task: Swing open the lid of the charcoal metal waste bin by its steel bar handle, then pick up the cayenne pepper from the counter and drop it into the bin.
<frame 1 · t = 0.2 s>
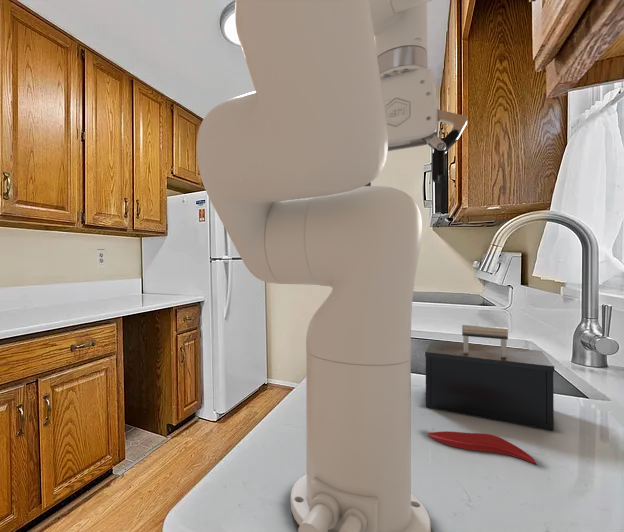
hand: (399, 185, 56), 36 cm above the countertop, tool pointing down, fingers open, 9 cm apart
bin lid: (483, 339, 64), point 12 cm above the countertop, hinge at 0.0°
bin: (483, 406, 64), on the countertop
cayenne pepper: (478, 448, 49), on the countertop
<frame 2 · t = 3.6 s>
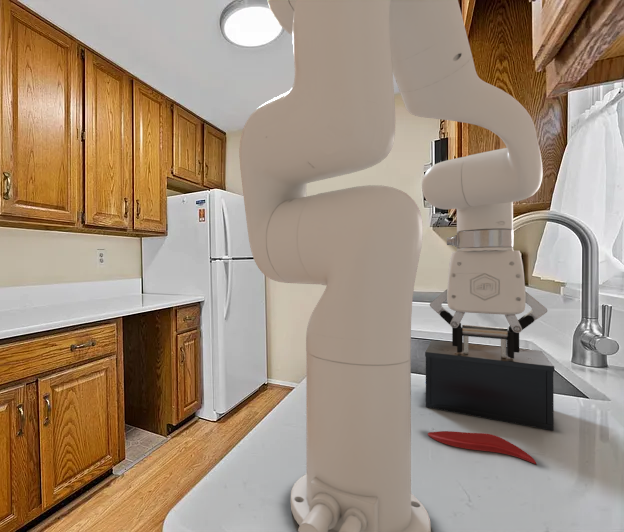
hand: (484, 352, 60), 10 cm above the countertop, tool pointing down, fingers closed on bin lid, 6 cm apart
bin lid: (483, 339, 64), point 12 cm above the countertop, hinge at 0.0°, touching gripper
everything else where it was.
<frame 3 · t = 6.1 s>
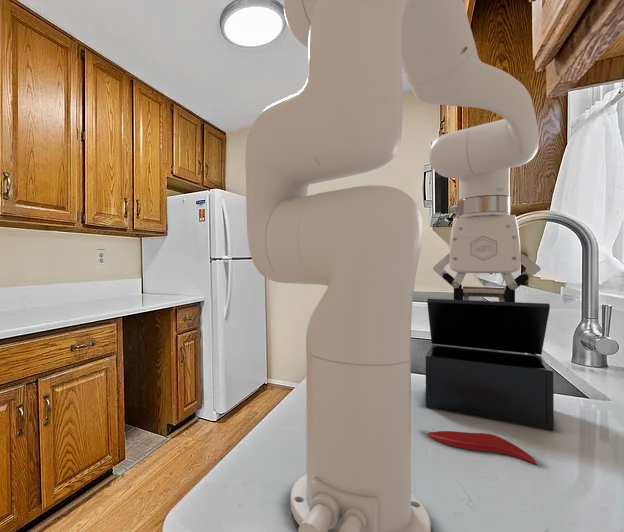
hand: (483, 310, 66), 16 cm above the countertop, tool pointing down, fingers closed on bin lid, 6 cm apart
bin lid: (483, 315, 67), point 15 cm above the countertop, hinge at 46.3°, touching gripper
everything else where it was.
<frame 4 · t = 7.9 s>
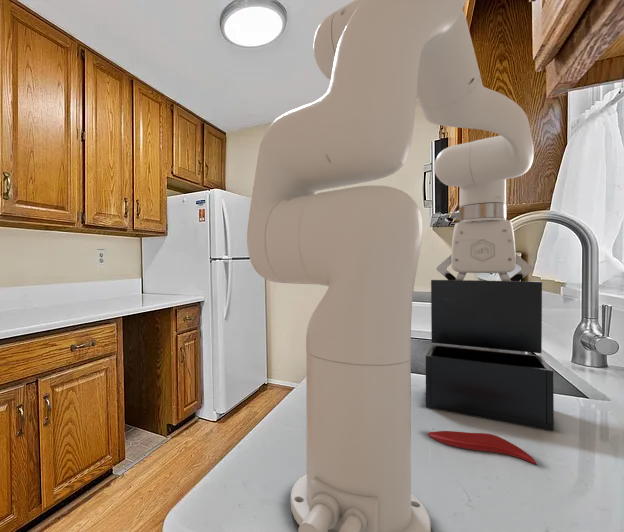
hand: (482, 306, 72), 16 cm above the countertop, tool pointing down, fingers closed on bin lid, 6 cm apart
bin lid: (482, 312, 70), point 16 cm above the countertop, hinge at 86.3°, touching gripper
everything else where it was.
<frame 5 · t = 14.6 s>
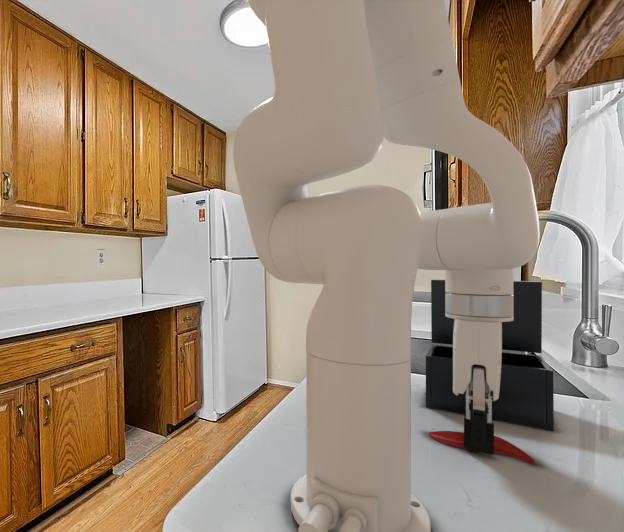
hand: (478, 443, 49), 0 cm above the countertop, tool pointing down, fingers closed on cayenne pepper, 3 cm apart
bin lid: (482, 312, 70), point 16 cm above the countertop, hinge at 86.9°
cayenne pepper: (478, 448, 49), on the countertop, touching gripper
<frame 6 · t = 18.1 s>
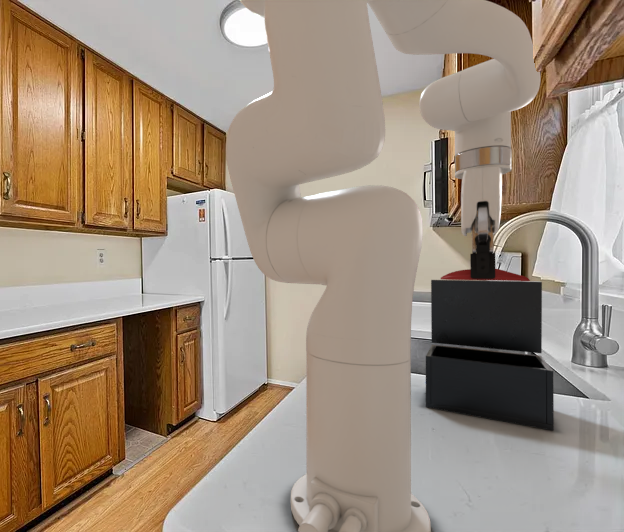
hand: (482, 277, 60), 22 cm above the countertop, tool pointing down, fingers closed on cayenne pepper, 3 cm apart
cayenne pepper: (482, 281, 60), point 22 cm above the countertop, touching gripper
everything else where it was.
when the fingers open (10 cm above the countertop, at t = 21.8 s): cayenne pepper drops 9 cm, resting on bin.
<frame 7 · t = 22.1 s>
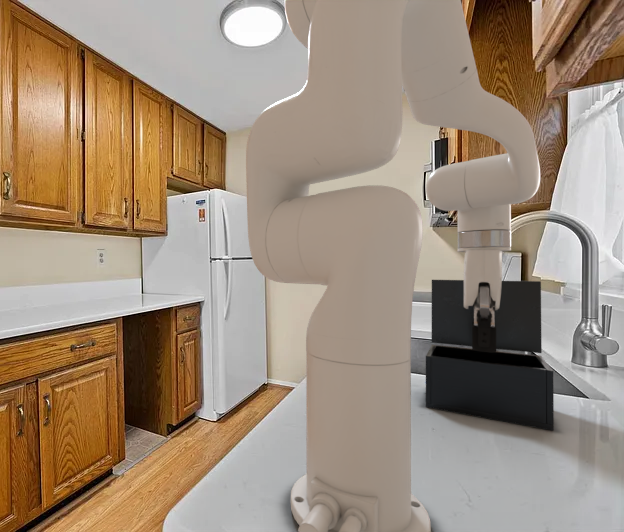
hand: (483, 346, 63), 10 cm above the countertop, tool pointing down, fingers open, 6 cm apart
bin lid: (482, 312, 71), point 15 cm above the countertop, hinge at 92.4°, touching gripper
cayenne pepper: (484, 404, 63), point 1 cm above the countertop, touching bin
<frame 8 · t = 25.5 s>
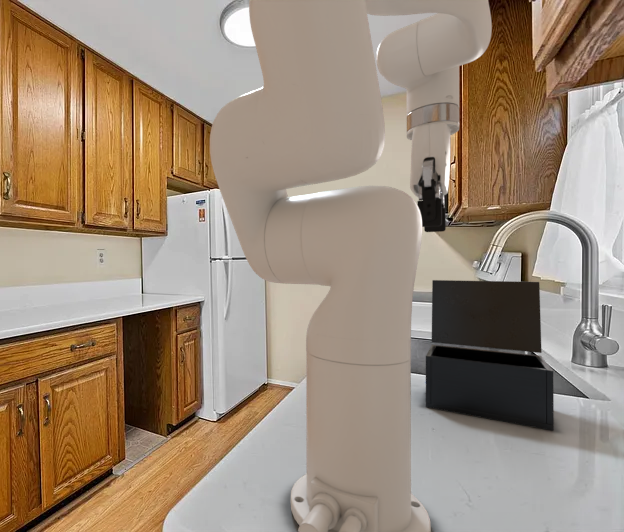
hand: (432, 229, 60), 30 cm above the countertop, tool pointing down, fingers open, 9 cm apart
bin lid: (482, 314, 72), point 15 cm above the countertop, hinge at 100.3°
everything else where it was.
at the end: bin lid at +100° (first picture: +0°); cayenne pepper inside the target area in the bin (0.7 cm from its centre), point 0.6 cm above the bin's base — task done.
